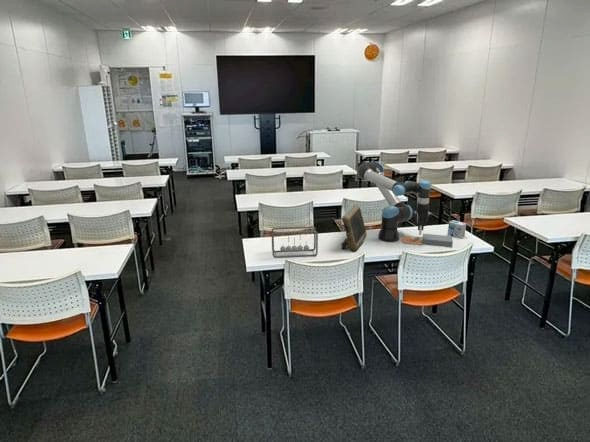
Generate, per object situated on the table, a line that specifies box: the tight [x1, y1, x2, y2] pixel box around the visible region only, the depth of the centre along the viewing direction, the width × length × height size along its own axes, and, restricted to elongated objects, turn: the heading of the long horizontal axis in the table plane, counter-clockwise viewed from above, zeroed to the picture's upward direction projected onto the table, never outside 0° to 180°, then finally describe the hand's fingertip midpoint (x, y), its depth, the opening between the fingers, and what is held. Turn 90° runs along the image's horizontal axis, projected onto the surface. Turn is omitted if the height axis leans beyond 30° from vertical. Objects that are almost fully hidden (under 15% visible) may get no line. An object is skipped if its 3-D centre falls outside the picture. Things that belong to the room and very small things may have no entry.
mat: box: [401, 234, 423, 246], centre depth 292 cm, size 14×16×1 cm
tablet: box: [341, 204, 367, 253], centre depth 283 cm, size 33×14×25 cm, turn 162°
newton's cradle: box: [270, 225, 319, 259], centre depth 266 cm, size 30×10×18 cm, turn 95°
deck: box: [422, 233, 454, 248], centre depth 287 cm, size 20×12×4 cm, turn 72°
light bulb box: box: [446, 219, 467, 239], centre depth 299 cm, size 11×7×11 cm, turn 43°
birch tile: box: [410, 235, 423, 242], centre depth 291 cm, size 8×6×2 cm
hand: (420, 234), depth 289 cm, fingers closed
